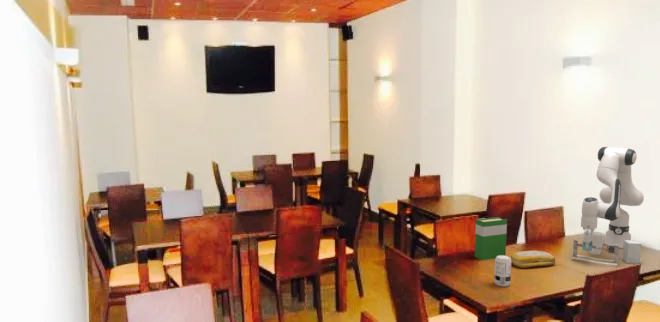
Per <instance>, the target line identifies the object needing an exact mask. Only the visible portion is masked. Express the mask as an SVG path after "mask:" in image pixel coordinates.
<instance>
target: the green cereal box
mask: <svg viewBox="0 0 660 322" xmlns="http://www.w3.org/2000/svg"><path fill="white" fill-rule="evenodd" d="M507 227H508V219H506V218H505V219H502V218H501V216H497V217H488V218H487V217H486V218H485V217H484V218H479V219H475V233H474V234H475V236H474V237H475V240H474V257H475V258H476V259H479V260H481V261H487V260H493V259H494V260H495V259H496V257H497V256H498V255H505V256H507V255H506V253H507V252H506V251H507V249H506V248H507V232H508V231H507V230H508V229H507Z"/></svg>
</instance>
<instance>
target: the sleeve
mask: <svg viewBox="0 0 660 322" xmlns="http://www.w3.org/2000/svg"><path fill="white" fill-rule="evenodd" d="M592 242H593V241H590V243H589V248H586V247H585V242H583V241H582V244H583V247H582V251H586V252H587V251H588V252H589V251H592Z"/></svg>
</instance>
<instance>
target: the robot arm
mask: <svg viewBox="0 0 660 322" xmlns="http://www.w3.org/2000/svg"><path fill="white" fill-rule="evenodd" d="M597 159H598V161H599V163H598V168H597V171H596V179H597V180H598V181H599V182H600V183H601V184H604V185H605V186H607V187H603V188H602V189H601V190H600V191H599V199H600V200H601V201H598V198H597V197H592V196H591V197H585V198H584V199H583V201H582V205H581V217H580V218H581V219H580V220H581V221H580V227H581V228H582V230H584V231H583V239H582V243H583V242H585V247H586V248H589V243H590V241H591V238H592V235H593V232H595V230H596V229H597V228H598V219H604V220H607V221H609V223H608V230H607V231H605V233H604V234H605V235H604V240H603V245H606V246H608V247H609V246H615V245H619V247H618V249H623V245H624V240H632V234H631V233H630V225H629V224H630V223H629V222H630V214H629V213H628V211H626V210H624V209H623V208H622V207H621V206H629V207H639V206H641V205H642V204H643V202H644V200H645V199H644V197H645V196H644V194H643V193H642V191H641V190H639V189H638V188H637V187H636V186H635V185H634V183H633V179H632V165H635V163H636V161H637V152H636V151H635V150H634V149H632V148H626V147H625V148H624V147H619V146H618V147H615V146H613V147H611V146H610V147H608V146H602V147H600V148H599V149H598V152H597Z"/></svg>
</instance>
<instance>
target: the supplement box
mask: <svg viewBox="0 0 660 322" xmlns="http://www.w3.org/2000/svg"><path fill="white" fill-rule="evenodd" d="M641 248H642V243H641V242H639V241H637V240H632V239H631V240H624V245H623V248H622V261H624V263H626V264H634V265H640V261H641V251H642V250H641Z"/></svg>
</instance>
